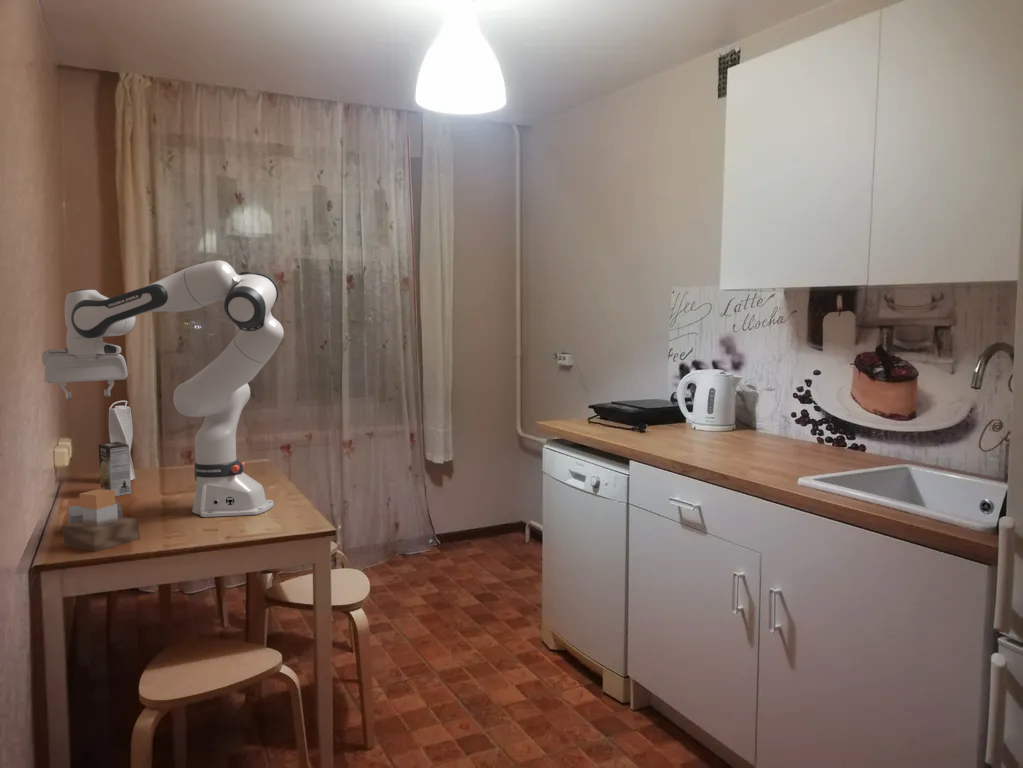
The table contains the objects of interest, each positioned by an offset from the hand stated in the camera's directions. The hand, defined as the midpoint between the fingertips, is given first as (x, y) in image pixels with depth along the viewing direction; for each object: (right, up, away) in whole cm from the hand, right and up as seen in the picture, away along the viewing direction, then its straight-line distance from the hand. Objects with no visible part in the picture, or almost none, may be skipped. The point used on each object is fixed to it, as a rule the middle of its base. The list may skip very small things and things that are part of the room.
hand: (88, 397), depth 211 cm
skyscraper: (-16, -30, +50) cm, 60 cm away
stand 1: (+6, -35, -7) cm, 36 cm away
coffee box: (-9, -32, +31) cm, 45 cm away
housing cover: (+15, -27, -23) cm, 38 cm away
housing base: (+15, -31, -22) cm, 41 cm away
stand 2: (+15, -36, -21) cm, 45 cm away
